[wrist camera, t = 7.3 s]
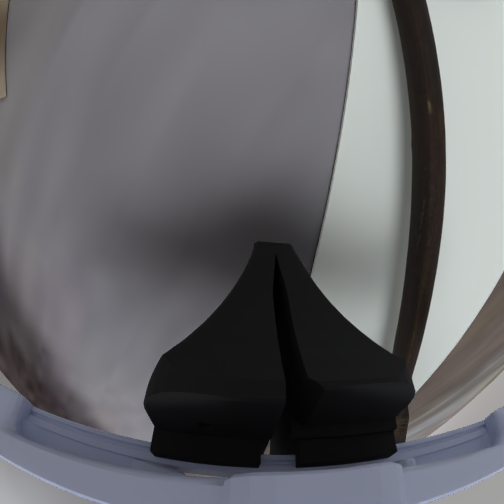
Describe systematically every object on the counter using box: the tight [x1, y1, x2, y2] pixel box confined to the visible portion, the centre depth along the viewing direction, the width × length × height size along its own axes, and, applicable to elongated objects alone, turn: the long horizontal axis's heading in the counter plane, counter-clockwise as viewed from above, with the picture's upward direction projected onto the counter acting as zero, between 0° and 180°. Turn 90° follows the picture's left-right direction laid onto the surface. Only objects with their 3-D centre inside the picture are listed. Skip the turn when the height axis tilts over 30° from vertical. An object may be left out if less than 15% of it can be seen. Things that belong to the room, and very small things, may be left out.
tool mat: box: [311, 0, 504, 393], centre depth 13 cm, size 28×12×1 cm, turn 176°
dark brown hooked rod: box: [392, 0, 446, 444], centre depth 11 cm, size 5×5×30 cm
